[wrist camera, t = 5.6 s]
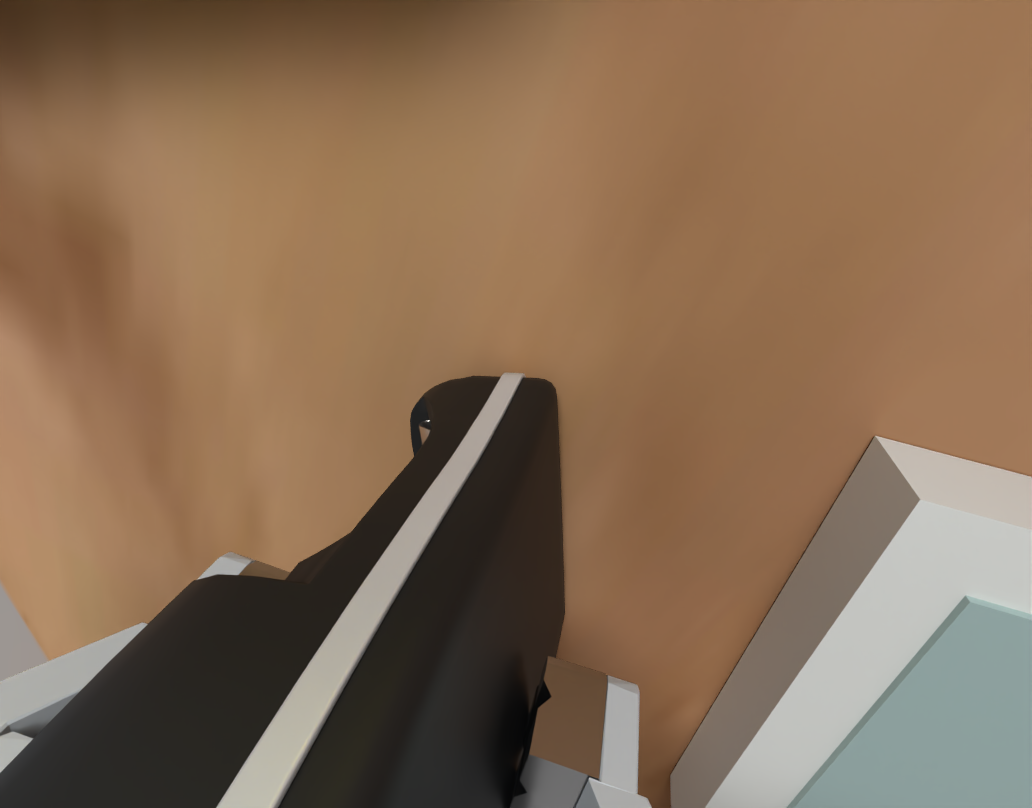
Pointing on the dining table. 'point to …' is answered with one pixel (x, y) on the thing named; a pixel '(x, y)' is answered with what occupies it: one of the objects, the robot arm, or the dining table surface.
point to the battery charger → (346, 646)
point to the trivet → (887, 653)
